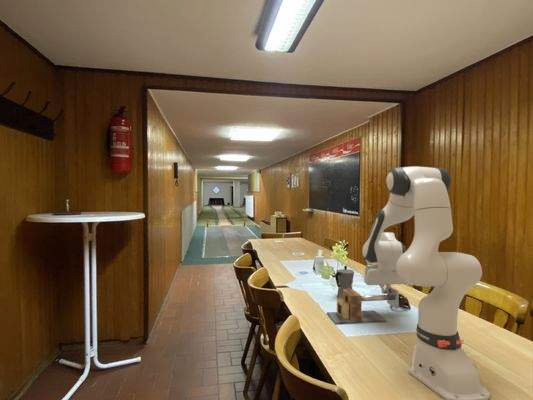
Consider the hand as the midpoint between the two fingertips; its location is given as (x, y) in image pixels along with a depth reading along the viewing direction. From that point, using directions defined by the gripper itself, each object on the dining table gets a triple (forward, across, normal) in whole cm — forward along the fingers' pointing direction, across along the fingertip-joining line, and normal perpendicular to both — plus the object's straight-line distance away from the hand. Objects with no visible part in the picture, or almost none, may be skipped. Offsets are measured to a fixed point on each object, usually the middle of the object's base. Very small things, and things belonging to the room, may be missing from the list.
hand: (384, 293), depth 148 cm
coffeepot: (+10, -11, +24) cm, 29 cm away
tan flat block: (+6, -22, -3) cm, 23 cm away
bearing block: (+10, -16, -3) cm, 19 cm away
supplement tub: (+10, +25, +59) cm, 65 cm away
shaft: (+5, -7, -3) cm, 9 cm away
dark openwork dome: (+10, +12, +8) cm, 18 cm away
